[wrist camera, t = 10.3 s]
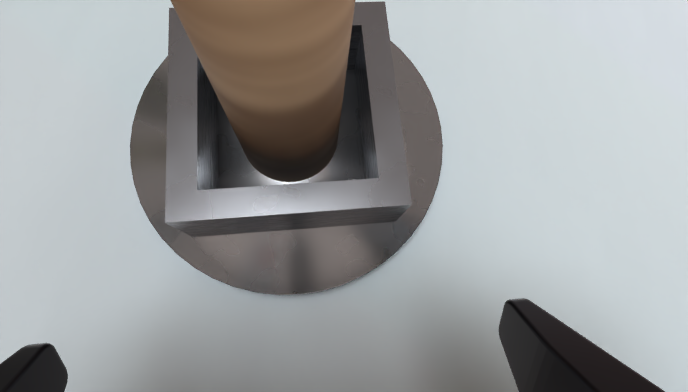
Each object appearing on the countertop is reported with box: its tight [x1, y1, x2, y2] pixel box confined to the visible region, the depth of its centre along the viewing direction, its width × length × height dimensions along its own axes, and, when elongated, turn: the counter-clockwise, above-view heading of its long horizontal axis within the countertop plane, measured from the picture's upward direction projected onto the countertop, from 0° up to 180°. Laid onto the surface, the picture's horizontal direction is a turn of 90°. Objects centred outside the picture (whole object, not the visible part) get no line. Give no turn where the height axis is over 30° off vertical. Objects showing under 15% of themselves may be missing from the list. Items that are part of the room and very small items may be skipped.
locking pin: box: [171, 0, 355, 182], centre depth 11 cm, size 4×4×13 cm
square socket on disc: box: [130, 2, 443, 295], centre depth 16 cm, size 13×13×4 cm
